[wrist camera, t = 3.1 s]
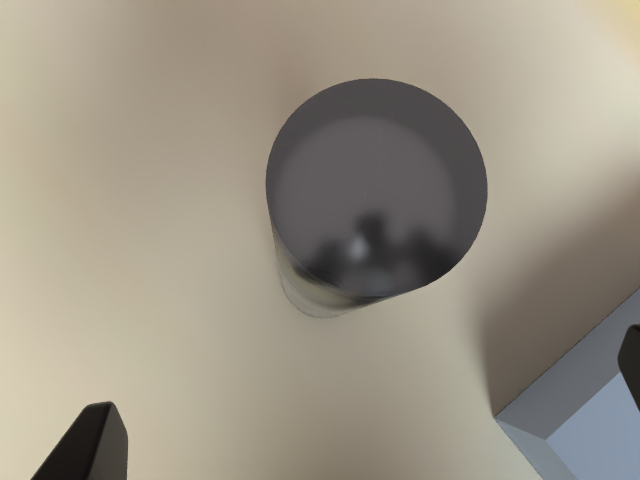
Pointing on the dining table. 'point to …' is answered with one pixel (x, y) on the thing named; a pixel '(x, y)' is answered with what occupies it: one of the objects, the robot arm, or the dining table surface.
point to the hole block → (581, 410)
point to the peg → (371, 195)
